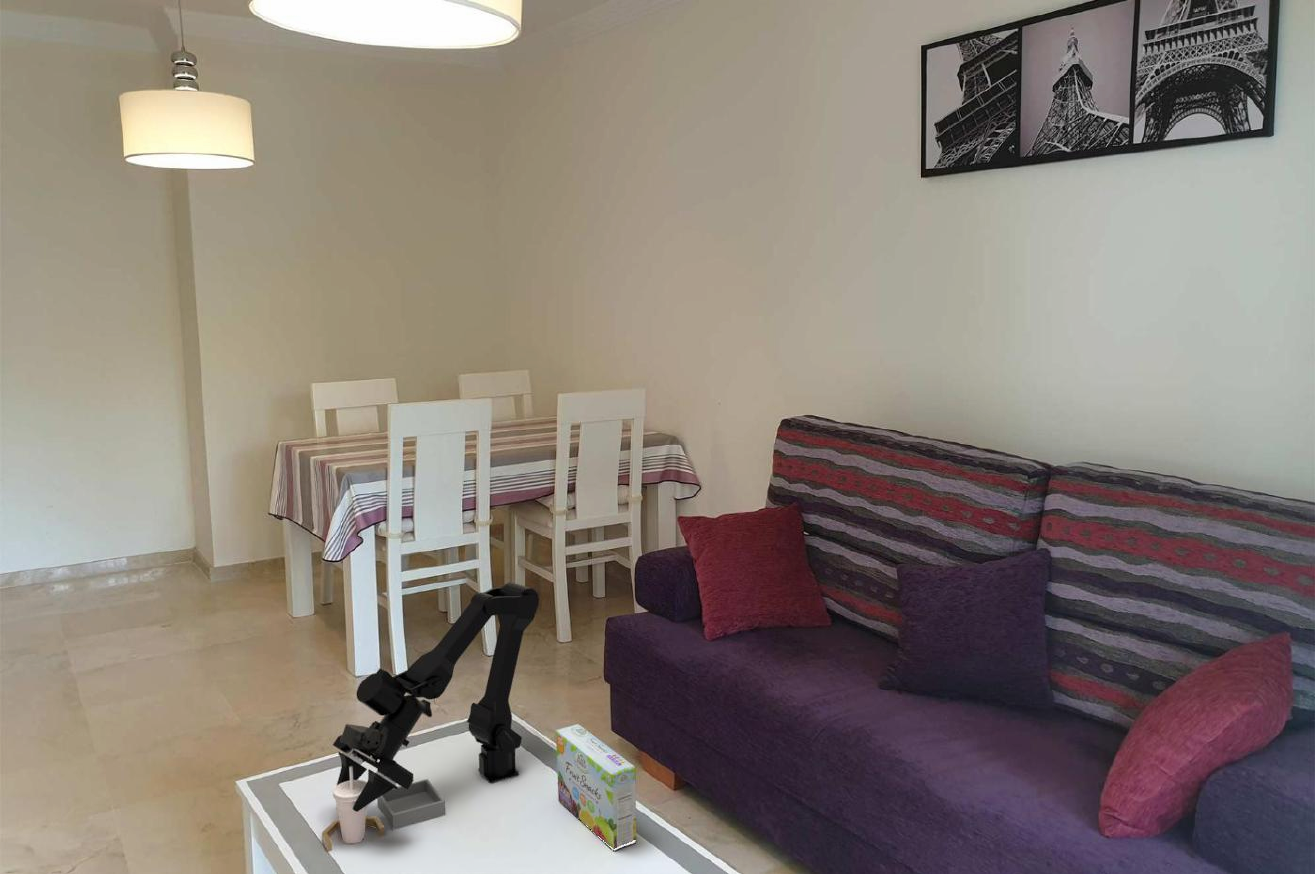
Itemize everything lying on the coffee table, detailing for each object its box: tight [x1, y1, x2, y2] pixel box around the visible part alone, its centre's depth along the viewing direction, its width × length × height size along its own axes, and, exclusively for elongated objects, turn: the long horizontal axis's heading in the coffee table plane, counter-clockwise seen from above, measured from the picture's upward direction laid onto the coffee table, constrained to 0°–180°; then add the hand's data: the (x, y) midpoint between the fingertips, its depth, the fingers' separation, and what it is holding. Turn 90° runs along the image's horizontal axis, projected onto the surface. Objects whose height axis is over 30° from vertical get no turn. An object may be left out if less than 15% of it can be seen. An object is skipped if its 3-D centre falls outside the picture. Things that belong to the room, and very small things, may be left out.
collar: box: [321, 815, 386, 852], centre depth 184 cm, size 10×7×2 cm
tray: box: [376, 778, 447, 830], centre depth 192 cm, size 10×10×3 cm
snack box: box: [555, 723, 637, 849], centre depth 187 cm, size 21×6×15 cm, turn 34°
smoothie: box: [332, 766, 368, 844], centre depth 181 cm, size 6×6×14 cm
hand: (344, 804), depth 180 cm, fingers closed on smoothie, 6 cm apart
